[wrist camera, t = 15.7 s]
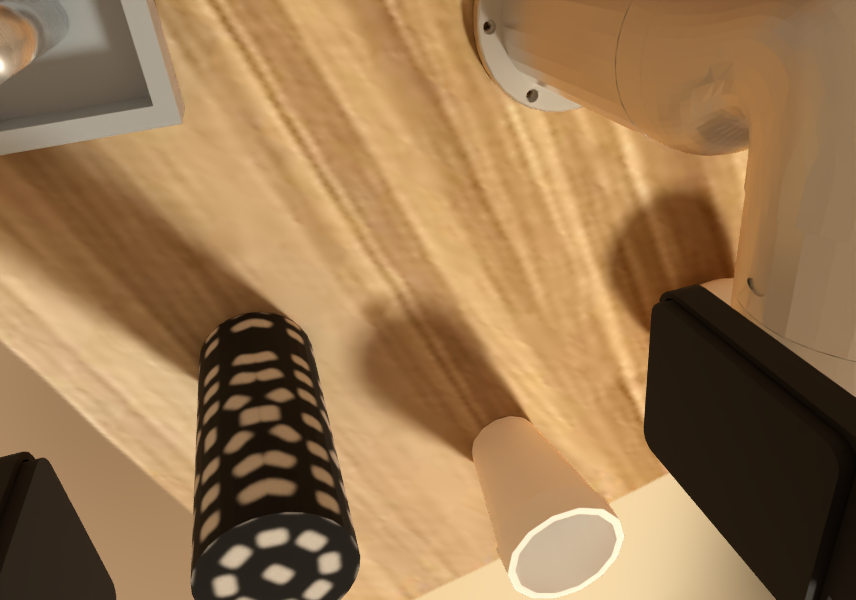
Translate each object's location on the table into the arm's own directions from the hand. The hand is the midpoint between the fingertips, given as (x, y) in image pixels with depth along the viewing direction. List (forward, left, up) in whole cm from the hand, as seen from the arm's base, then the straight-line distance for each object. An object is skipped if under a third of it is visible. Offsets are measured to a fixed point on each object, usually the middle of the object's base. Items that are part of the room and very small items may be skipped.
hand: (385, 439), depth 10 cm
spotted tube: (+5, +21, -36) cm, 42 cm away
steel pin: (+11, -4, -35) cm, 37 cm away
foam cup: (-14, +36, -36) cm, 53 cm away
